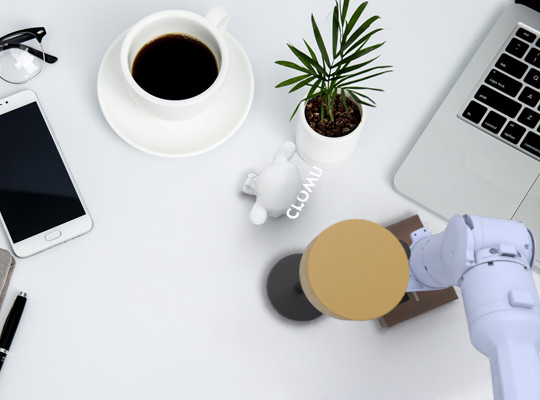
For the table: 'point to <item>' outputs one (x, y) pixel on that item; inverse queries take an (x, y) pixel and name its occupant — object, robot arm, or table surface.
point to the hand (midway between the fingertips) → (410, 268)
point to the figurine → (277, 186)
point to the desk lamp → (342, 274)
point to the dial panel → (418, 299)
